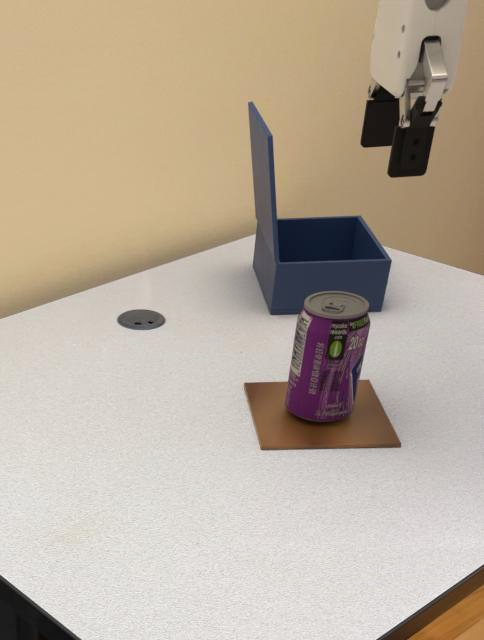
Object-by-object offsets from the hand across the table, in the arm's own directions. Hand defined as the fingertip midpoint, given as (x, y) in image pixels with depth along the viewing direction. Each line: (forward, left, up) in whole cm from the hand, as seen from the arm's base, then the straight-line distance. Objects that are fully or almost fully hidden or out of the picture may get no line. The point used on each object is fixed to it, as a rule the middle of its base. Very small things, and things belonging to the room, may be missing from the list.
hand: (391, 160), depth 82 cm
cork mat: (+3, +2, -25) cm, 25 cm away
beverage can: (+3, +2, -25) cm, 25 cm away
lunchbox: (-3, -33, -25) cm, 41 cm away
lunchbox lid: (+5, -33, -11) cm, 35 cm away
